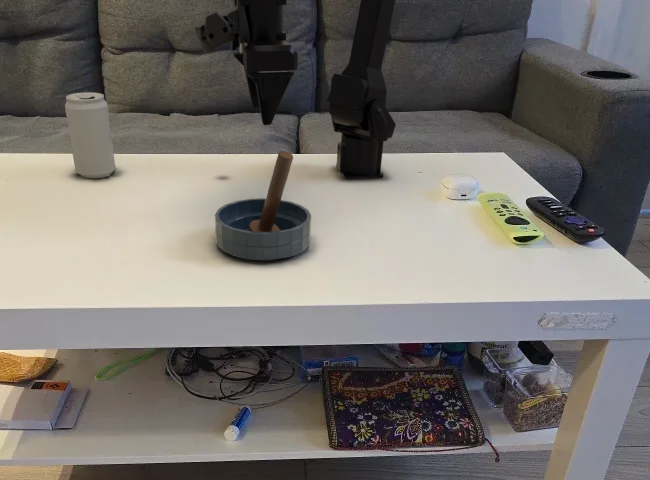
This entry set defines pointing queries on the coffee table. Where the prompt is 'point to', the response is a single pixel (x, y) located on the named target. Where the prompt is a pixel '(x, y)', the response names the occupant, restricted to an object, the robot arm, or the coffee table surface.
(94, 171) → the beverage can
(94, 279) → the coffee table surface
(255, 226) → the rod
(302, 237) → the bowl
